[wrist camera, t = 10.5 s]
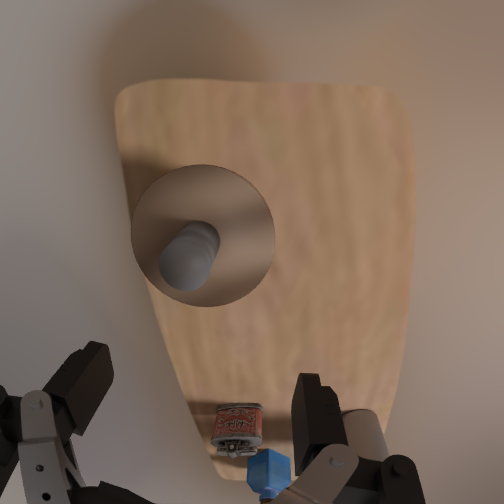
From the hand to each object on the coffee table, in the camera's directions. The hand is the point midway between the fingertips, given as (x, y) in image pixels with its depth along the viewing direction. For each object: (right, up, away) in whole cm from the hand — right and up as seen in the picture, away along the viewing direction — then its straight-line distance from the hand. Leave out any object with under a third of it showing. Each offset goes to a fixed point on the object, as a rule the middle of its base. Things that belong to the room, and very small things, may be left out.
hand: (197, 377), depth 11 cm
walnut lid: (-2, +6, +16) cm, 17 cm away
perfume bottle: (+6, -38, +41) cm, 56 cm away
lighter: (0, -22, +36) cm, 42 cm away
